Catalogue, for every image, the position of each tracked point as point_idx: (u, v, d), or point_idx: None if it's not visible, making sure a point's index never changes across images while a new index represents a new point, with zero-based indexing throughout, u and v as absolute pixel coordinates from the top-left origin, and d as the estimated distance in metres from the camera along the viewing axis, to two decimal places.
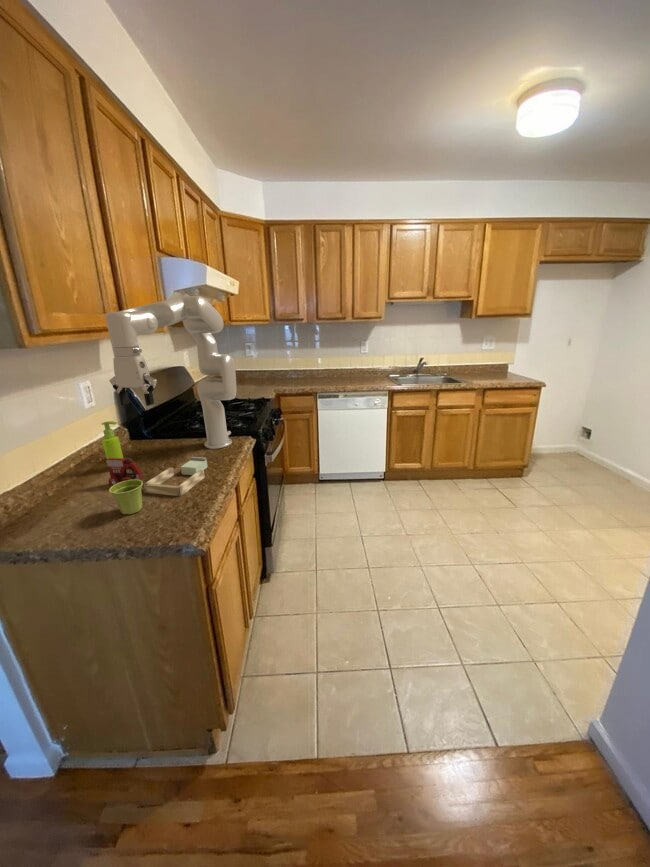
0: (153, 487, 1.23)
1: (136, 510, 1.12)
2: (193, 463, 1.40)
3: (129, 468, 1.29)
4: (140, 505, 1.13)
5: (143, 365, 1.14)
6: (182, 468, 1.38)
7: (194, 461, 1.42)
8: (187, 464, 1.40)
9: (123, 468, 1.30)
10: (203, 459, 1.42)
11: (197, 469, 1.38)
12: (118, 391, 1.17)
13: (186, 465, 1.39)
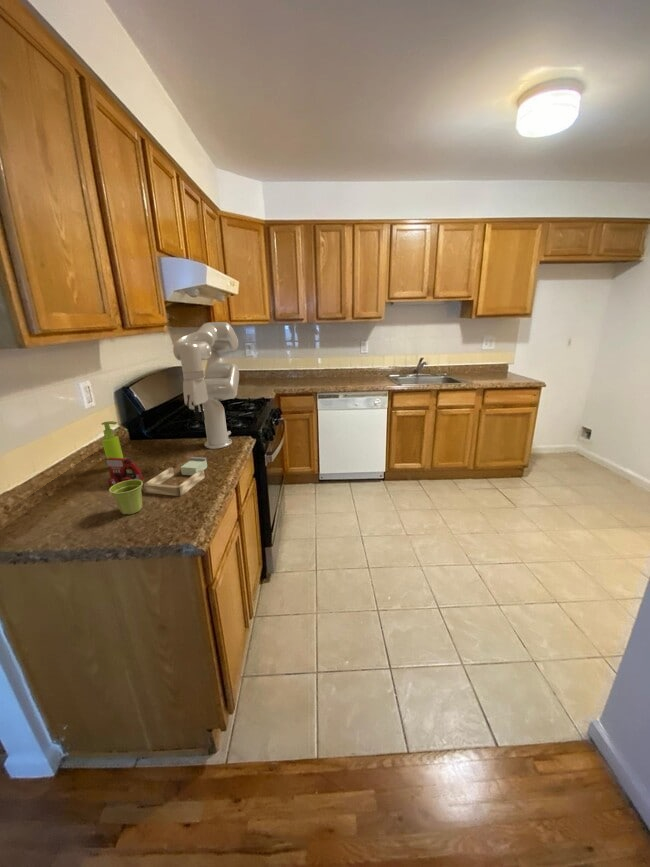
0: (153, 487, 1.23)
1: (136, 510, 1.12)
2: (193, 463, 1.40)
3: (129, 468, 1.29)
4: (140, 505, 1.13)
5: None
6: (182, 468, 1.37)
7: (194, 461, 1.42)
8: (187, 464, 1.39)
9: (123, 468, 1.30)
10: (203, 459, 1.42)
11: (197, 470, 1.37)
12: (200, 410, 1.41)
13: (186, 465, 1.38)
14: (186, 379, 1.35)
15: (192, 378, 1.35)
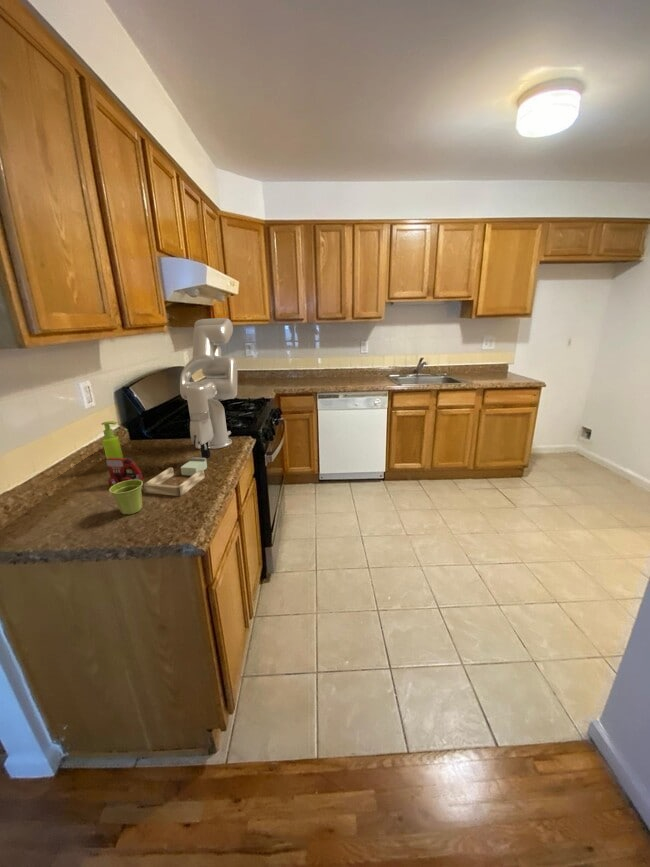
0: (153, 487, 1.23)
1: (136, 510, 1.12)
2: (193, 463, 1.40)
3: (129, 468, 1.29)
4: (140, 505, 1.13)
5: None
6: (182, 469, 1.37)
7: (194, 461, 1.42)
8: (187, 465, 1.39)
9: (123, 468, 1.30)
10: (203, 459, 1.42)
11: (197, 470, 1.37)
12: (206, 448, 1.46)
13: (186, 466, 1.38)
14: (193, 420, 1.40)
15: (198, 419, 1.40)
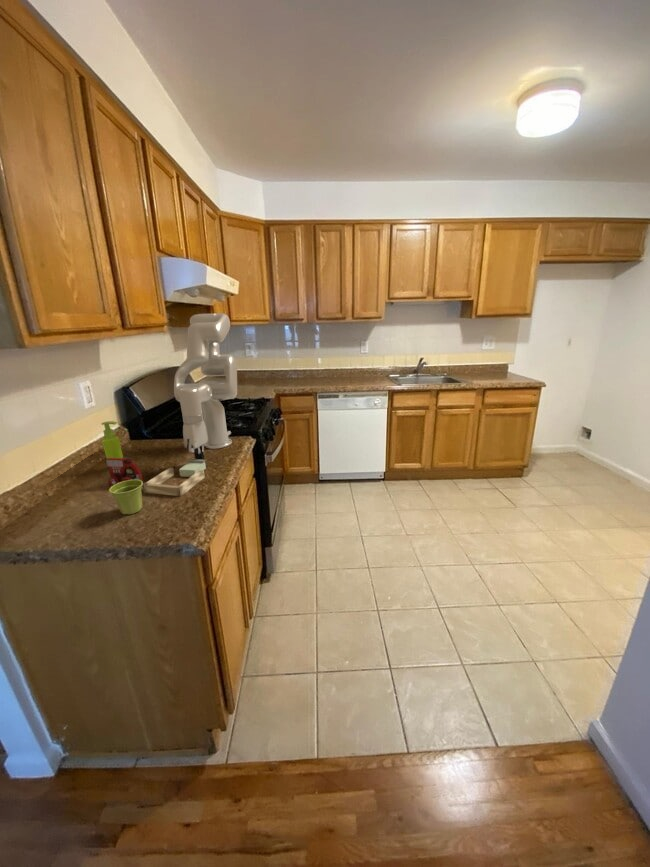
0: (153, 487, 1.23)
1: (136, 510, 1.12)
2: (191, 465, 1.39)
3: (129, 468, 1.29)
4: (140, 505, 1.13)
5: None
6: (181, 471, 1.36)
7: (192, 463, 1.41)
8: (185, 467, 1.38)
9: (123, 468, 1.30)
10: (201, 461, 1.41)
11: (196, 472, 1.36)
12: (200, 452, 1.42)
13: (184, 468, 1.37)
14: (186, 423, 1.36)
15: (192, 422, 1.36)
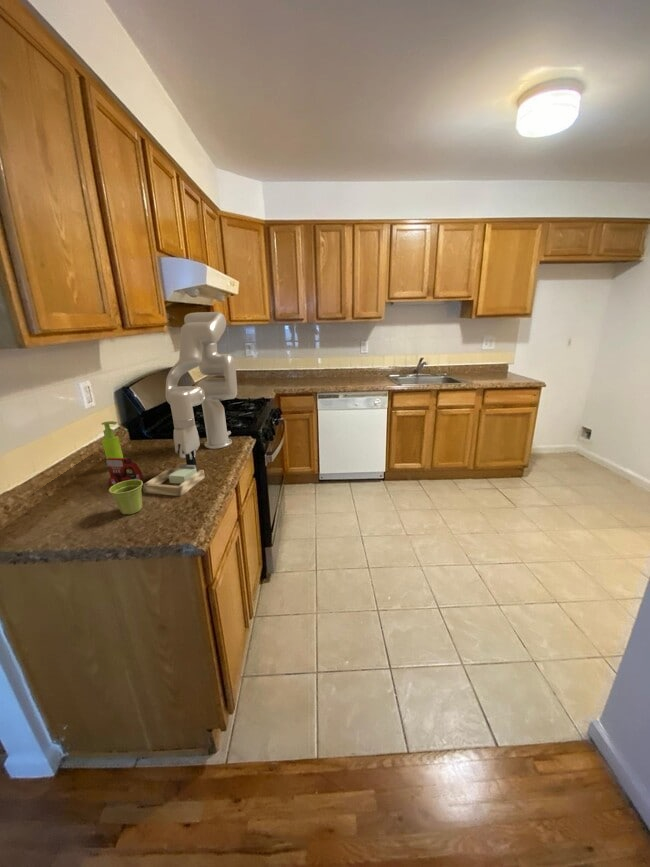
0: (153, 487, 1.23)
1: (136, 510, 1.12)
2: (182, 471, 1.34)
3: (129, 468, 1.29)
4: (140, 505, 1.13)
5: None
6: (170, 477, 1.31)
7: (183, 469, 1.35)
8: (175, 472, 1.33)
9: (123, 468, 1.30)
10: (192, 467, 1.36)
11: (186, 478, 1.31)
12: (191, 457, 1.37)
13: (174, 474, 1.32)
14: (176, 428, 1.31)
15: (183, 427, 1.30)
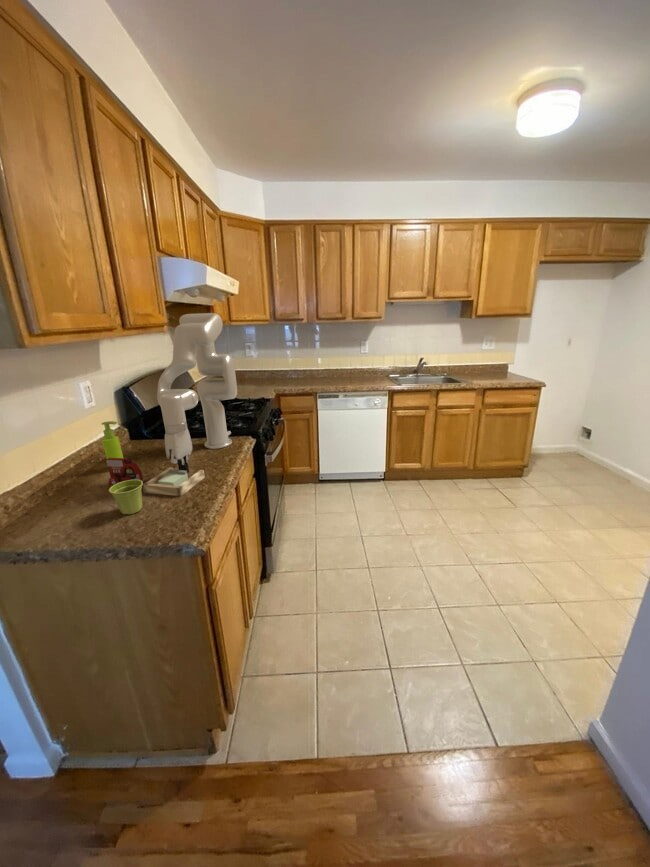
0: (153, 487, 1.23)
1: (136, 510, 1.12)
2: (172, 477, 1.29)
3: (129, 468, 1.29)
4: (140, 505, 1.13)
5: None
6: (159, 483, 1.27)
7: (173, 475, 1.31)
8: (165, 478, 1.28)
9: (123, 468, 1.30)
10: (183, 472, 1.31)
11: (176, 484, 1.26)
12: (183, 463, 1.32)
13: (164, 479, 1.27)
14: (168, 432, 1.26)
15: (174, 431, 1.26)
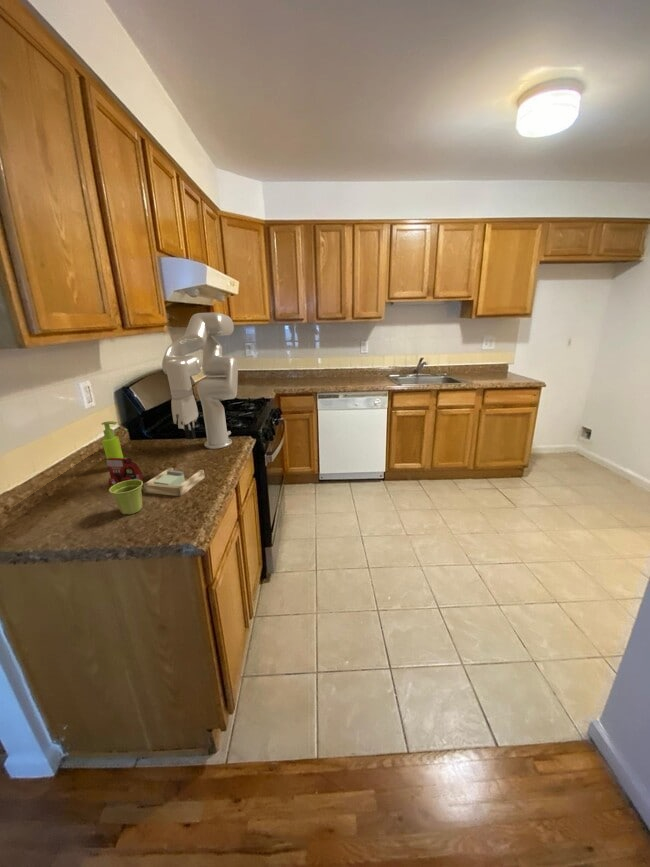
0: (153, 487, 1.23)
1: (136, 510, 1.12)
2: (168, 478, 1.28)
3: (129, 468, 1.29)
4: (140, 505, 1.13)
5: None
6: (155, 483, 1.26)
7: (170, 475, 1.30)
8: (161, 479, 1.27)
9: (123, 468, 1.30)
10: (180, 473, 1.30)
11: None
12: (190, 428, 1.36)
13: (160, 480, 1.27)
14: (174, 398, 1.29)
15: (180, 397, 1.28)
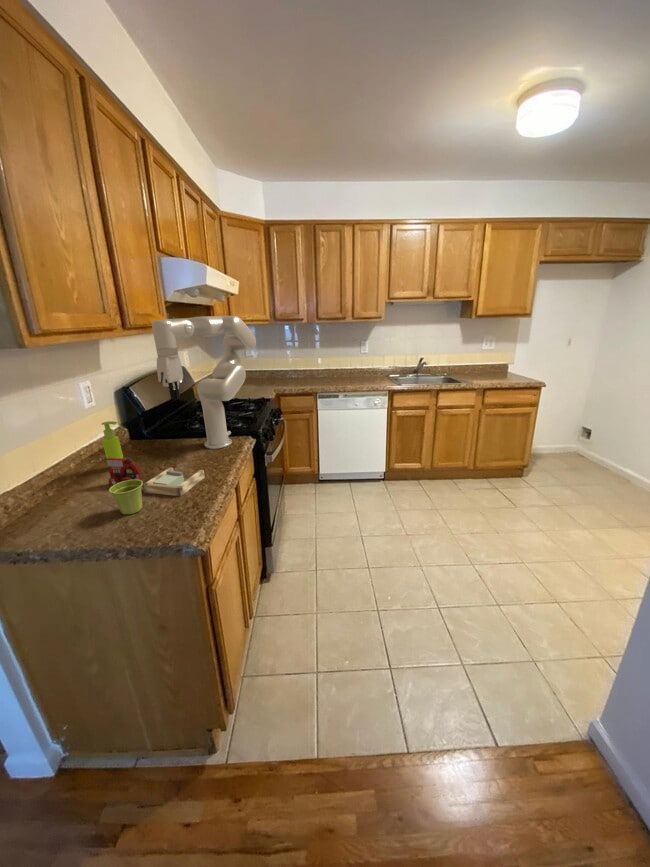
0: (153, 487, 1.23)
1: (136, 510, 1.12)
2: (167, 478, 1.28)
3: (129, 468, 1.29)
4: (140, 505, 1.13)
5: None
6: None
7: (169, 476, 1.30)
8: (160, 479, 1.27)
9: (123, 468, 1.30)
10: (179, 474, 1.30)
11: None
12: (174, 388, 1.41)
13: (159, 480, 1.26)
14: (159, 356, 1.35)
15: (165, 355, 1.34)
